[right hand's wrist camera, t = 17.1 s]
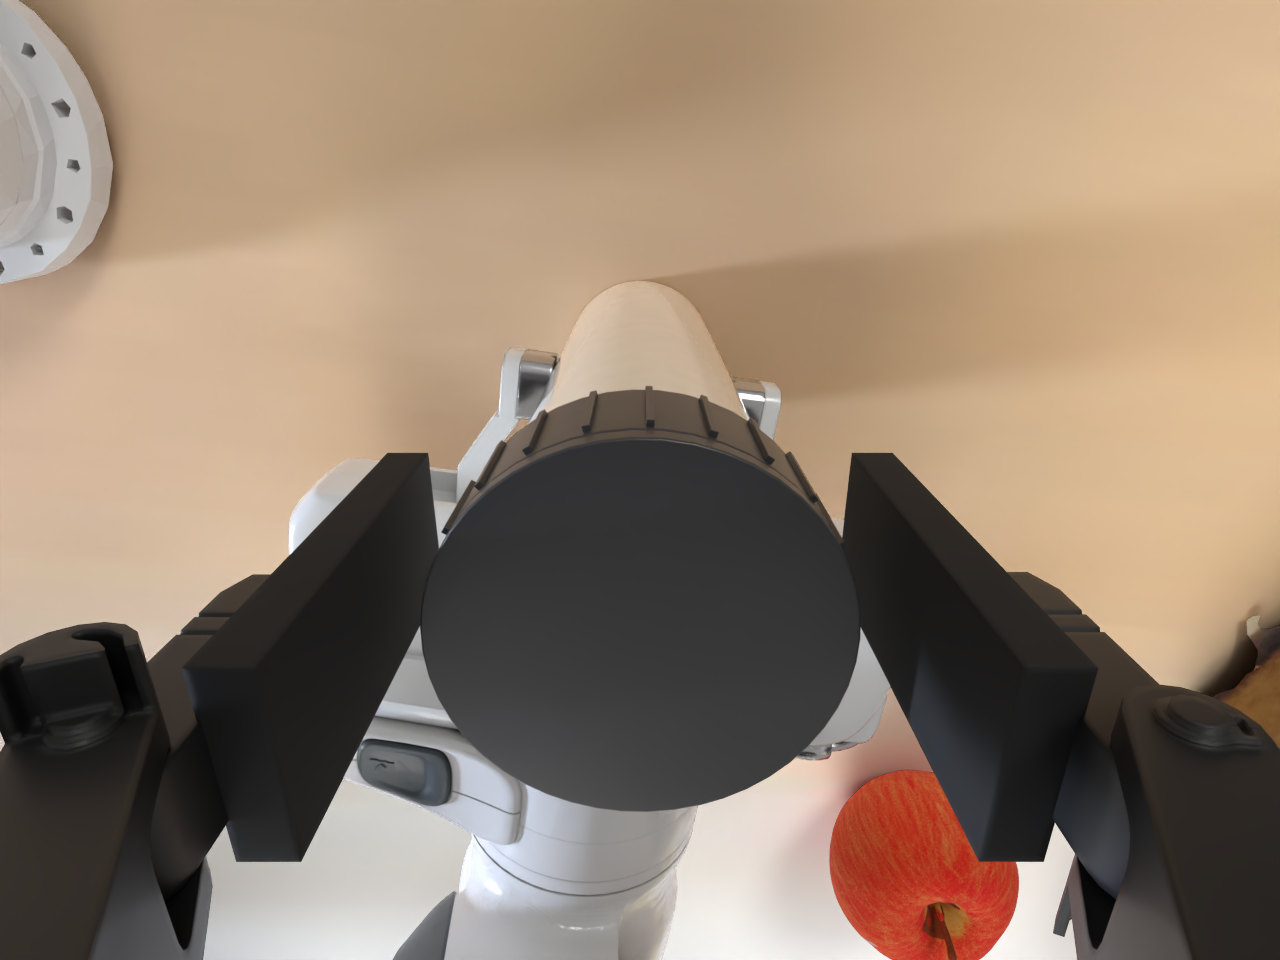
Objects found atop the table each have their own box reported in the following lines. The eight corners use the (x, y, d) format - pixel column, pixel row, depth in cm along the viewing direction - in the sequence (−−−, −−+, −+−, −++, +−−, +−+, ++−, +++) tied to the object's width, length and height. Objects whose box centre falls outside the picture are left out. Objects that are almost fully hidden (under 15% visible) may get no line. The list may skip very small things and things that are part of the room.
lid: (530, 746, 14) (510, 854, 11) (394, 448, 11) (334, 511, 9) (856, 665, 13) (901, 763, 11) (777, 332, 11) (812, 369, 9)
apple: (853, 882, 38) (905, 1047, 31) (787, 781, 36) (826, 935, 28) (997, 826, 37) (1087, 985, 30) (939, 715, 34) (1021, 860, 27)
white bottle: (549, 310, 28) (391, 519, 10) (683, 259, 27) (765, 389, 9) (600, 436, 29) (542, 799, 12) (727, 392, 29) (863, 707, 11)
